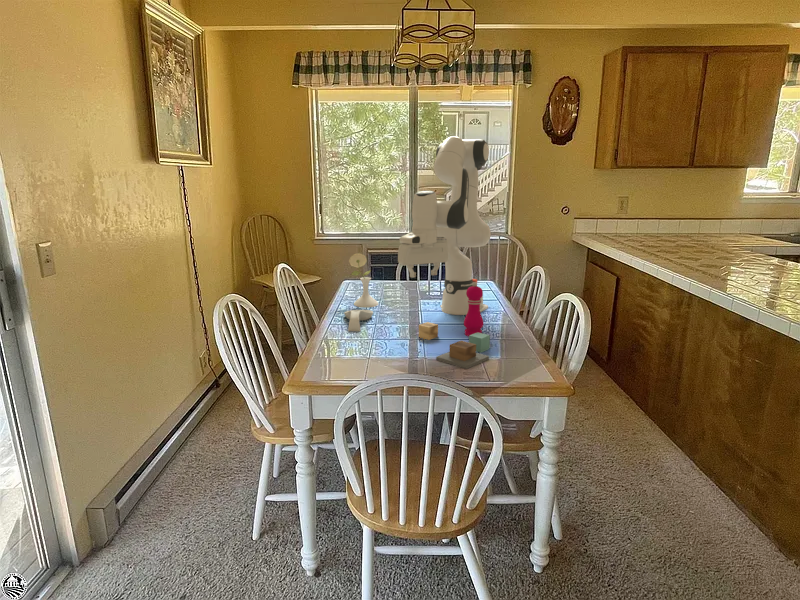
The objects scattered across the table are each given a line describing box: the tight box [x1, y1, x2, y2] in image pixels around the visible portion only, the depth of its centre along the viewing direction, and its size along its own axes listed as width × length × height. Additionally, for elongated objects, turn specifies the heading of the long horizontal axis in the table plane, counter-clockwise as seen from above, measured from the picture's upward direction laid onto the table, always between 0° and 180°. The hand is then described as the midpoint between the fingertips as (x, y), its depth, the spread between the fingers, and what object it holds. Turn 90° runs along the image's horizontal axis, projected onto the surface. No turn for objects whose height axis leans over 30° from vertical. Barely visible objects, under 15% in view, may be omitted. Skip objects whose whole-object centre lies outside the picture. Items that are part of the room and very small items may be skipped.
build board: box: [435, 351, 490, 370], centre depth 162 cm, size 12×12×1 cm
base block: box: [449, 340, 477, 361], centre depth 161 cm, size 6×6×4 cm
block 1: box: [418, 321, 439, 341], centre depth 184 cm, size 5×5×5 cm
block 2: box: [468, 332, 491, 354], centre depth 171 cm, size 5×5×5 cm
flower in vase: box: [348, 252, 379, 308], centre depth 224 cm, size 13×11×25 cm
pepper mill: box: [463, 282, 484, 338], centre depth 185 cm, size 7×7×20 cm
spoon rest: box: [343, 309, 374, 332], centre depth 201 cm, size 24×12×7 cm, turn 0°
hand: (423, 276), depth 181 cm, fingers open, 8 cm apart
